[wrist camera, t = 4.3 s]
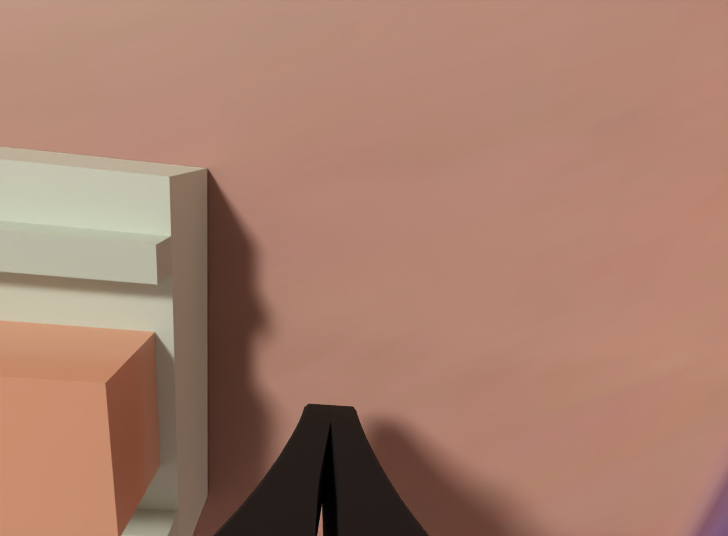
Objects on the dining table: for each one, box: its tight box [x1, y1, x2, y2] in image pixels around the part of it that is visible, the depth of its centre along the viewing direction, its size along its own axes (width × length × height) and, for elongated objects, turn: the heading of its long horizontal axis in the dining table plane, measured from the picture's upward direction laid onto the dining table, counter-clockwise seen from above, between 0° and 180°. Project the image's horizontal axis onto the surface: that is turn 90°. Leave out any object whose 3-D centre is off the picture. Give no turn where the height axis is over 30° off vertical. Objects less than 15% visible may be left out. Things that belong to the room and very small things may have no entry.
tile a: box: [0, 320, 160, 536], centre depth 11 cm, size 4×4×2 cm
